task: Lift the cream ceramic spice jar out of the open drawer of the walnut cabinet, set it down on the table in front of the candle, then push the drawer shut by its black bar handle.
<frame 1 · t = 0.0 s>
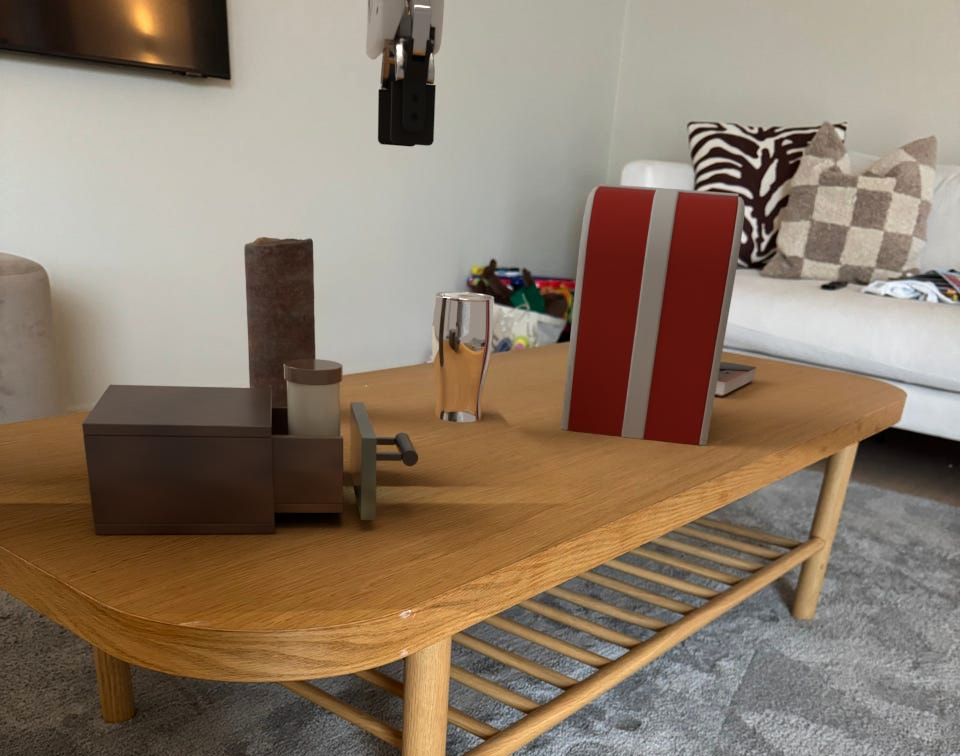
hand: (404, 144, 76), 29 cm above the table, tool pointing down, fingers open, 9 cm apart
cabinet: (192, 506, 82), on the table
beer glass: (457, 431, 113), on the table
spice jar: (314, 483, 84), point 2 cm above the table, touching drawer
candle: (284, 428, 109), on the table
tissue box: (636, 424, 122), on the table
drawer: (318, 457, 83), point 4 cm above the table, slide at 7.0 cm, touching spice jar
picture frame: (671, 380, 150), on the table
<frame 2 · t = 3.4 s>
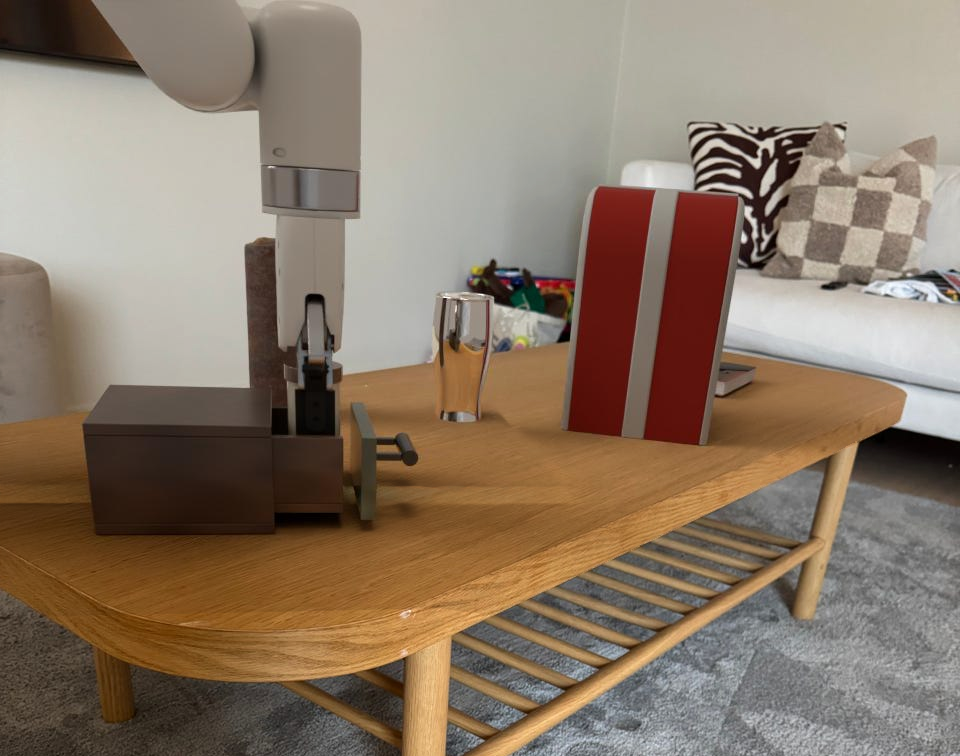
hand: (314, 428, 81), 7 cm above the table, tool pointing down, fingers closed on spice jar, 4 cm apart
spice jar: (315, 483, 84), point 2 cm above the table, touching drawer, gripper
everything else where it was.
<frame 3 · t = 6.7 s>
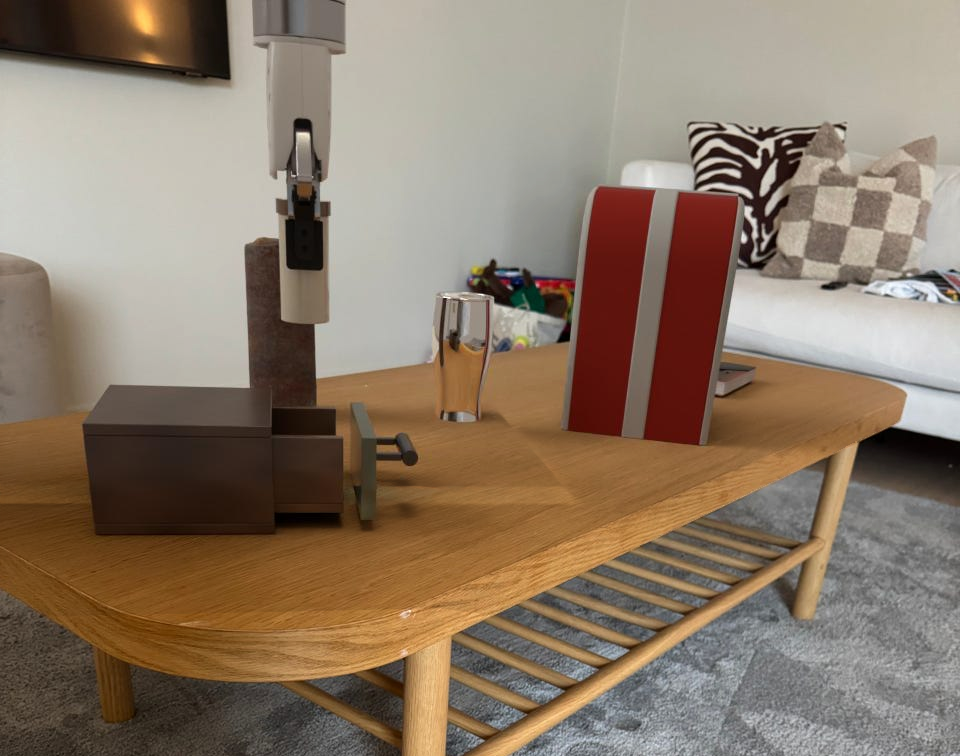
hand: (304, 264, 86), 19 cm above the table, tool pointing down, fingers closed on spice jar, 4 cm apart
spice jar: (305, 320, 89), point 14 cm above the table, touching gripper
drawer: (318, 457, 83), point 4 cm above the table, slide at 7.0 cm
everything else where it was.
when the fingers open (5 cm above the table, at t = 10.2 s): spice jar stays where it is, on the table.
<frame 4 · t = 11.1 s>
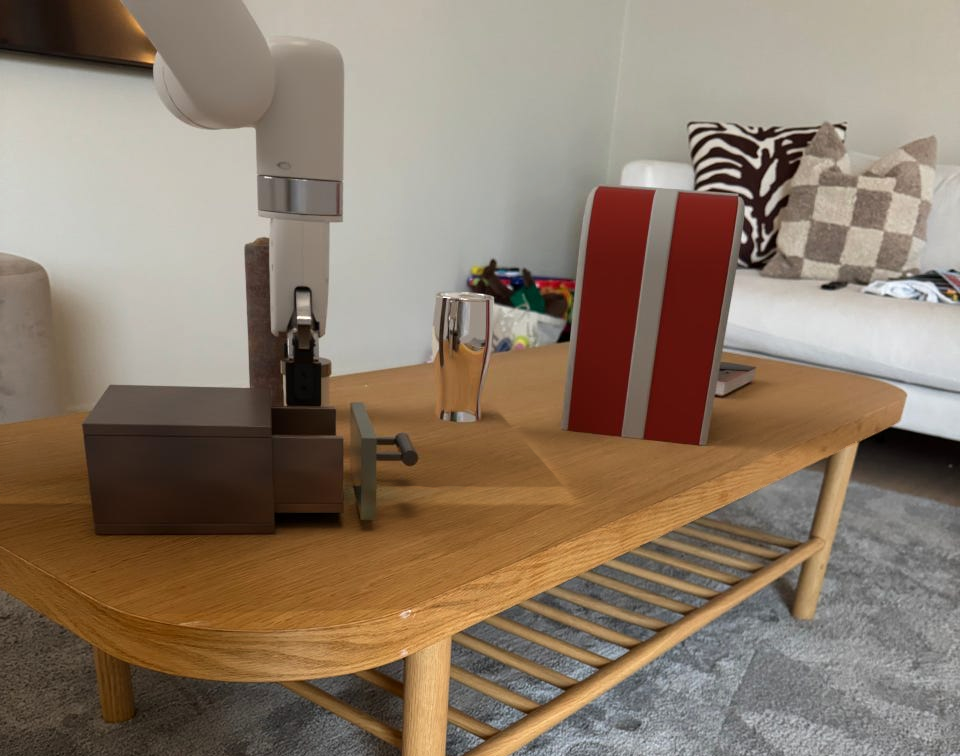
hand: (302, 395, 93), 7 cm above the table, tool pointing down, fingers open, 9 cm apart
spice jar: (307, 464, 96), on the table
everything else where it was.
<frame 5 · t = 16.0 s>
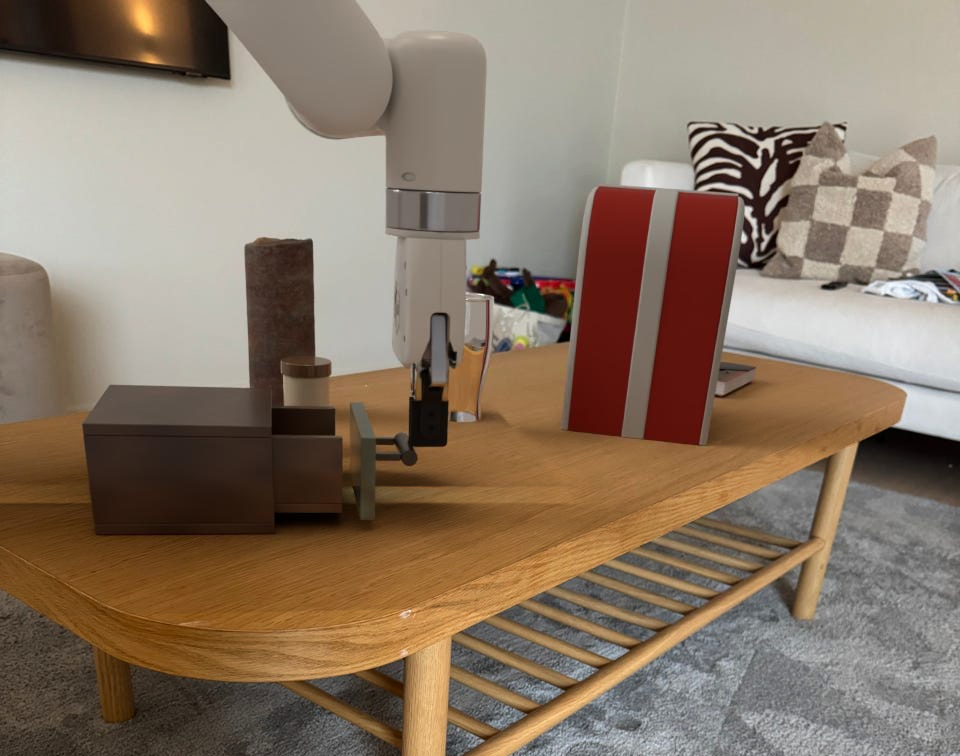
hand: (427, 444, 84), 6 cm above the table, tool pointing down, fingers closed
drawer: (318, 457, 83), point 4 cm above the table, slide at 6.9 cm, touching gripper
everything else where it was.
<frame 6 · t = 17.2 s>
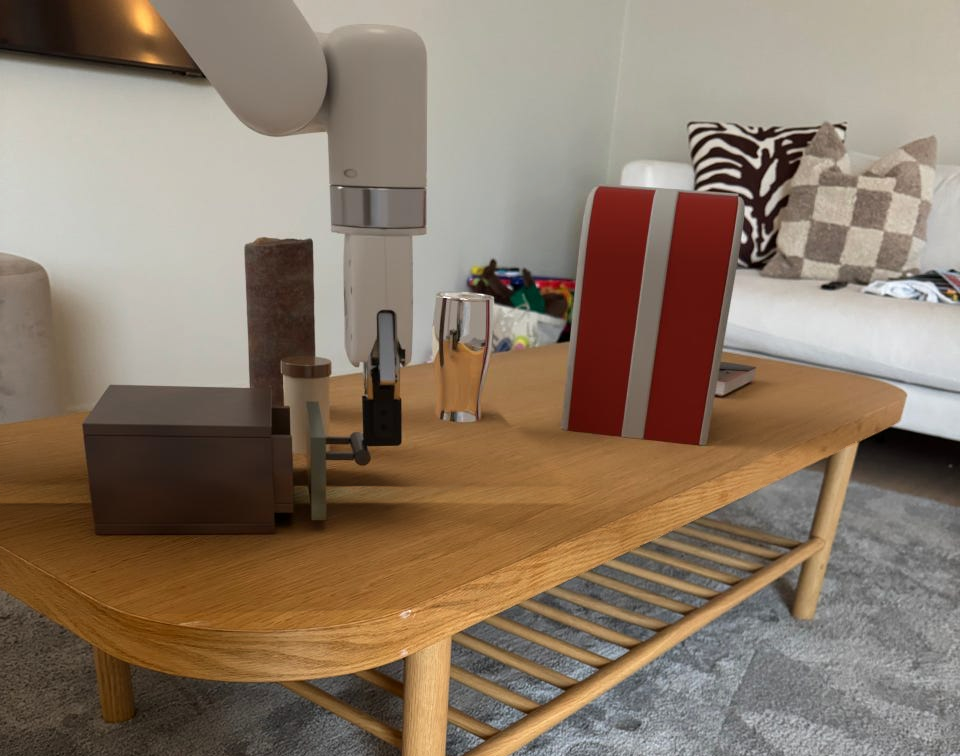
hand: (382, 443, 83), 6 cm above the table, tool pointing down, fingers closed
drawer: (270, 457, 82), point 4 cm above the table, slide at 3.0 cm, touching gripper
everything else where it was.
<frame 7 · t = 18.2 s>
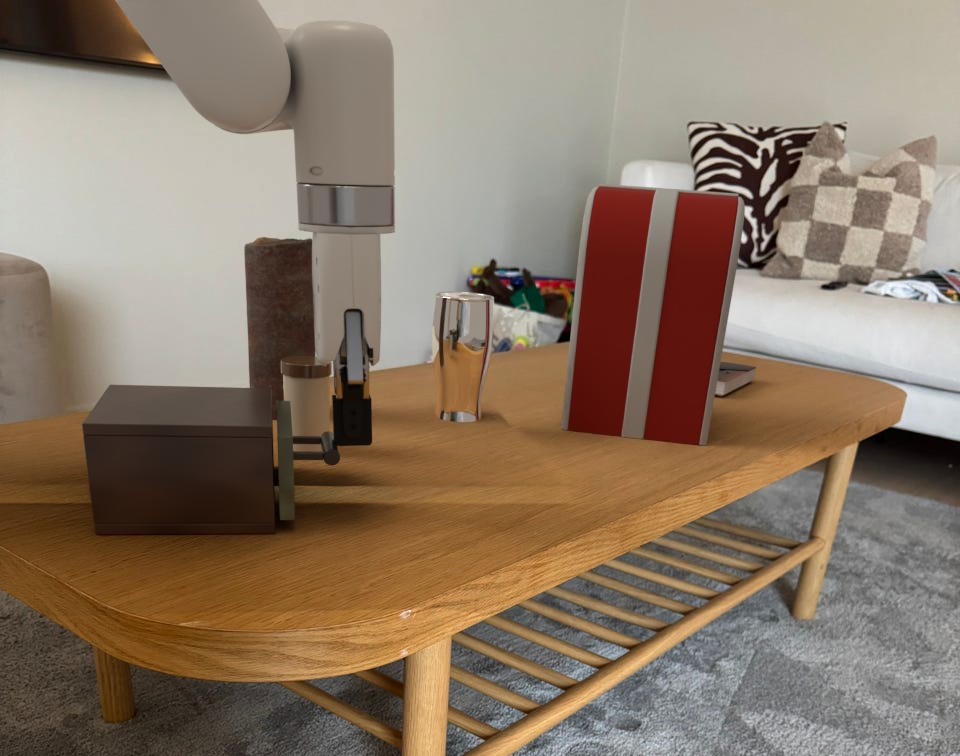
hand: (352, 442, 83), 6 cm above the table, tool pointing down, fingers closed
drawer: (240, 457, 81), point 4 cm above the table, slide at 0.4 cm, touching gripper
everything else where it was.
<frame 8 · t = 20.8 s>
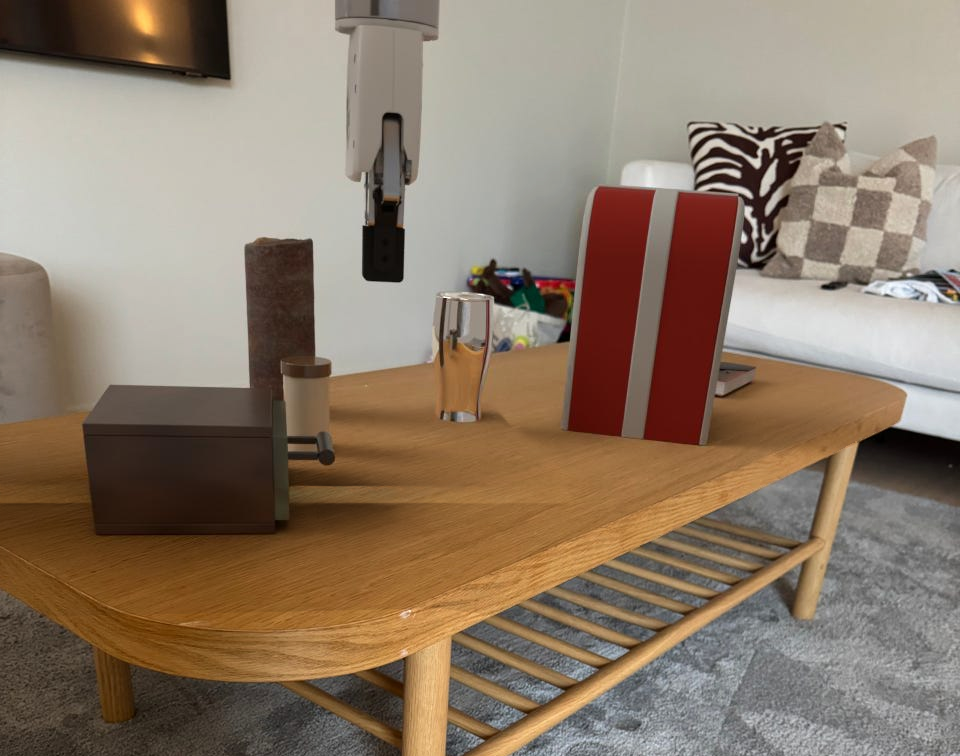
hand: (382, 280, 77), 19 cm above the table, tool pointing down, fingers closed
drawer: (235, 457, 81), point 4 cm above the table, slide at 0.0 cm
everything else where it was.
at the end: spice jar inside the target area on the table beside the candle (0.4 cm from its centre), on the table; spice jar tilted 0°; drawer slide at 0.0 cm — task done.
